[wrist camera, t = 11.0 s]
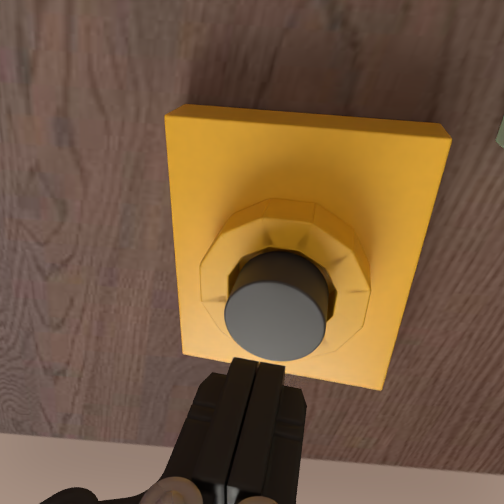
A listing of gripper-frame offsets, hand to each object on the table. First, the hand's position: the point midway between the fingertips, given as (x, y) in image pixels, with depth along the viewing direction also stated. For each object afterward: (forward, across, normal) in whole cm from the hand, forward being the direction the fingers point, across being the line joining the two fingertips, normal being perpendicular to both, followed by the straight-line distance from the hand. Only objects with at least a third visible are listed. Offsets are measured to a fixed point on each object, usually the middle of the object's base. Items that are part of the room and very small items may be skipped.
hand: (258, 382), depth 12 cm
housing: (+8, 0, 0) cm, 8 cm away
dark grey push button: (+5, 0, 0) cm, 5 cm away
